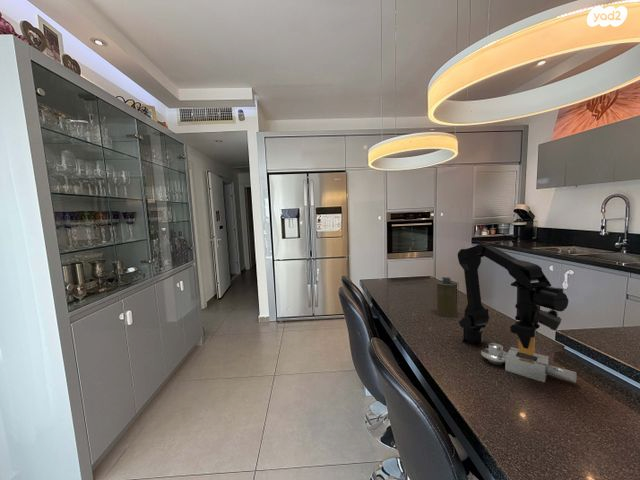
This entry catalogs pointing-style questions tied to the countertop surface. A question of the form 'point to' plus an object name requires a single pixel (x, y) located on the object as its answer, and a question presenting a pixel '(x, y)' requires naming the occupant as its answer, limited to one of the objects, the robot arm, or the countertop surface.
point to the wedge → (530, 348)
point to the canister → (447, 297)
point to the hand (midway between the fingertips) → (526, 346)
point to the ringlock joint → (525, 363)
